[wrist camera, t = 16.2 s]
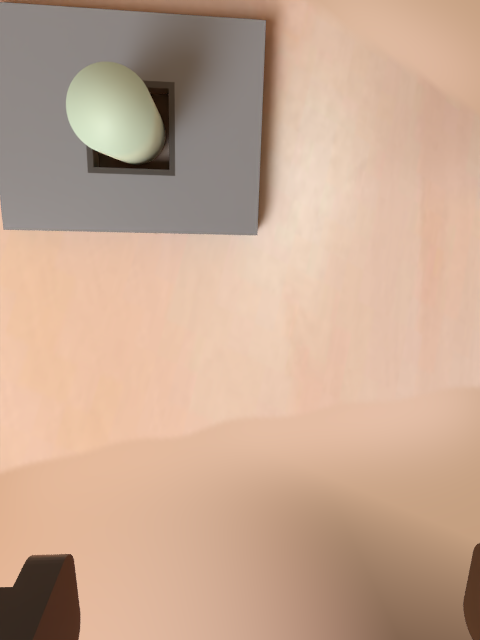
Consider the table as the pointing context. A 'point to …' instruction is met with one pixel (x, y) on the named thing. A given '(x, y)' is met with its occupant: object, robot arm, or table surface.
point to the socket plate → (160, 78)
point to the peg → (115, 113)
